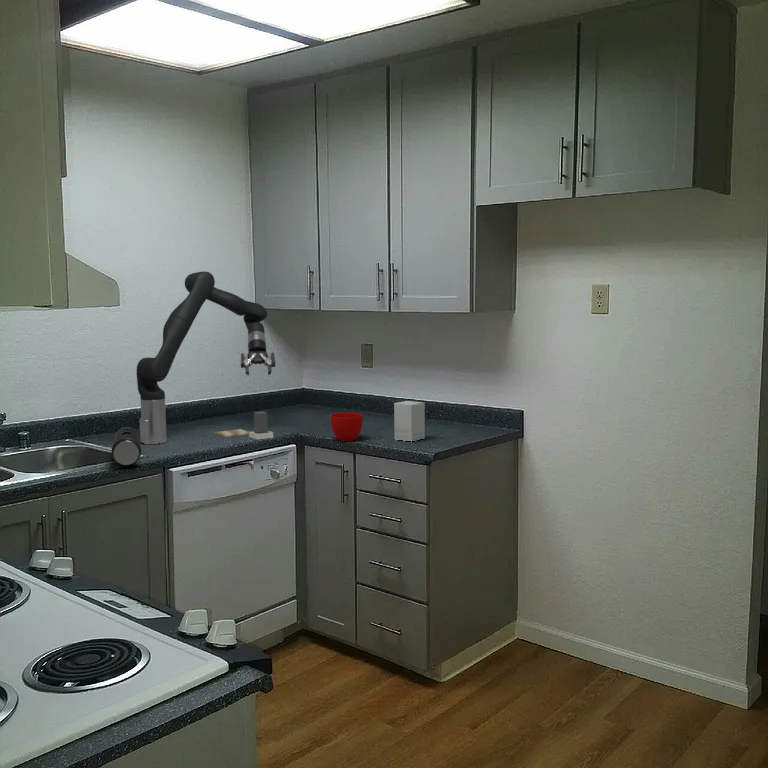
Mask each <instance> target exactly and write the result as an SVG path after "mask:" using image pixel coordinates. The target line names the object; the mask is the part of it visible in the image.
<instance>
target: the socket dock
mask: <svg viewBox="0 0 768 768" xmlns="http://www.w3.org/2000/svg"><path fill="white" fill-rule="evenodd" d="M248 432H249V434H248V437H249V438H251V439H254V440H264V439H266V440H267V439H272V438H273V439H274V432H273V431H272V430H271V431H269V430H268V433H262V434H257V433H254V430H253V431H248Z"/></svg>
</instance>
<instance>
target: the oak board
mask: <svg viewBox="0 0 768 768" xmlns="http://www.w3.org/2000/svg"><path fill="white" fill-rule="evenodd" d="M249 432H250V431H248V430H246V429H245V430H244V429H242V428H239V429H230V430H221V431H215V432H213V433H214V434H215V435H218V436H220V437H223V438H228V437H236V436H245V435H249Z"/></svg>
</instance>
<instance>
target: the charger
mask: <svg viewBox="0 0 768 768" xmlns="http://www.w3.org/2000/svg"><path fill="white" fill-rule="evenodd" d="M268 423H269V421H268V412H266V411H254V412H253V431H254V433H257V434H262V433H268V431H269V430H268V427H269V426H268V425H269V424H268Z"/></svg>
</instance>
